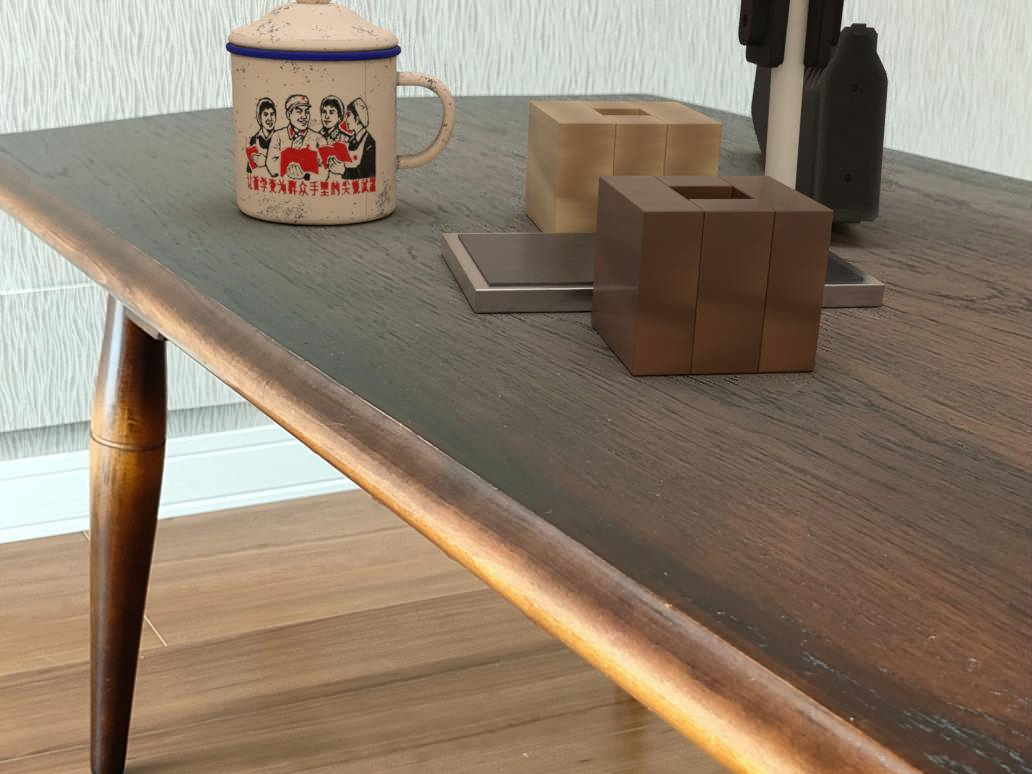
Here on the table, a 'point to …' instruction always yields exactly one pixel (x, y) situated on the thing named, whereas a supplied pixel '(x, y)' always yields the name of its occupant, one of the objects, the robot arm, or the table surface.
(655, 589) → the table surface
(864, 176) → the ribbed dark grey housing
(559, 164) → the pen stand
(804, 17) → the stylus
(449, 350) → the table surface
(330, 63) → the teacup with lid
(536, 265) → the shallow grey tray
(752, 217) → the stylus rest
